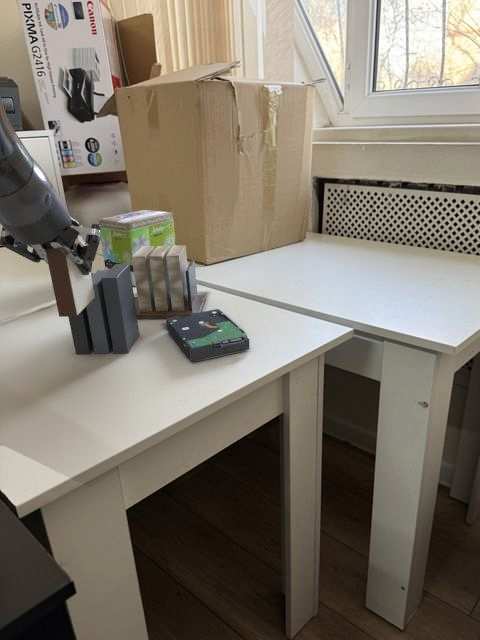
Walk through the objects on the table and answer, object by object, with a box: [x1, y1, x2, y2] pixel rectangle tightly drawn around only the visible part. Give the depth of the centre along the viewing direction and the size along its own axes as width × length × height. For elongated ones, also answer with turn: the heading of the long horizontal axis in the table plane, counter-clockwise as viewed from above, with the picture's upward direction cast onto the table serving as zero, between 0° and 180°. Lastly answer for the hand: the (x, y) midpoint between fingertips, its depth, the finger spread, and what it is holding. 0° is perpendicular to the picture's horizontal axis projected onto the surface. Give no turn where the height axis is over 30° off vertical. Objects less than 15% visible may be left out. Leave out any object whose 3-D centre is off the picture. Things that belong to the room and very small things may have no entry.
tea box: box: [98, 209, 176, 287], centre depth 121 cm, size 15×10×15 cm, turn 148°
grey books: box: [67, 264, 140, 355], centre depth 85 cm, size 8×9×13 cm
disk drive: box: [165, 308, 251, 362], centre depth 87 cm, size 10×3×15 cm
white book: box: [46, 236, 95, 318], centre depth 72 cm, size 8×2×11 cm, turn 179°
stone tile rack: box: [132, 244, 207, 321], centre depth 100 cm, size 22×11×12 cm, turn 89°
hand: (77, 269), depth 75 cm, fingers closed on white book, 2 cm apart
